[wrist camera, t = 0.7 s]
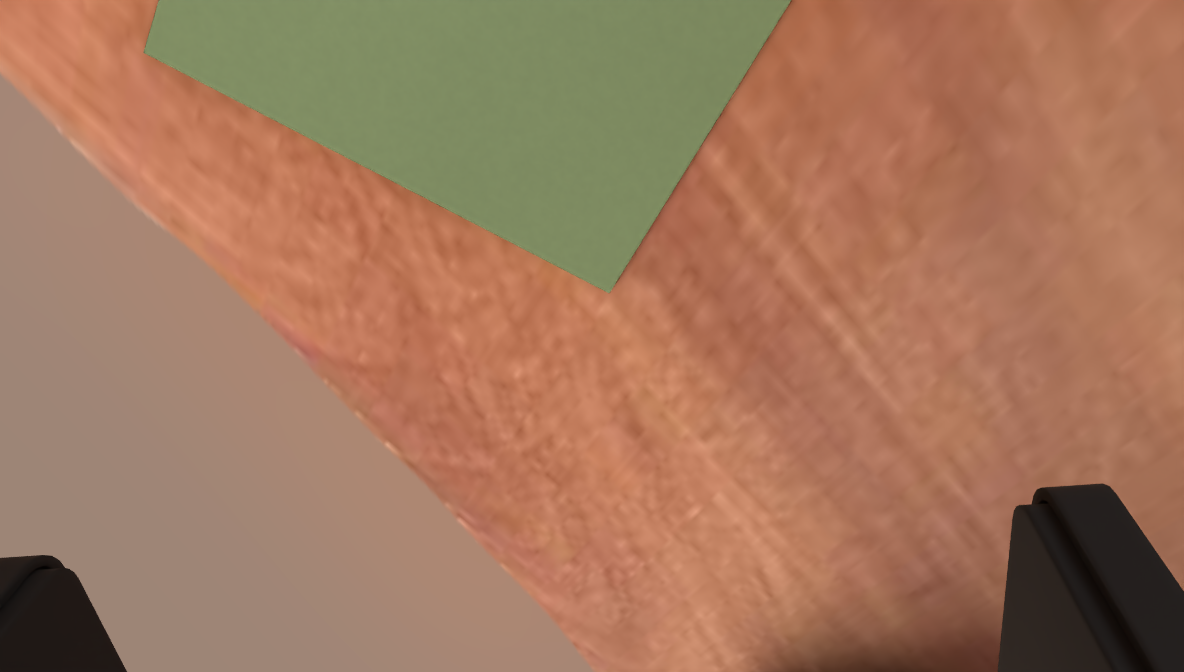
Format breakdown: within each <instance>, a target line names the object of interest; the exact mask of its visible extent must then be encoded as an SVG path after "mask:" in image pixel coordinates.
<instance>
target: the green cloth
mask: <svg viewBox="0 0 1184 672" xmlns="http://www.w3.org/2000/svg"><path fill="white" fill-rule="evenodd" d="M790 1H791V0H159V2H158V5H157V8H156V12H155V15H154V19H153V22H152V25H151V29H150V32H149V36H148V39H147V43H146V46H145V49H144V53H145V54H147V55H149V56H151V57H153V58H155V59H157V60H159V61H161V62H163V63H165V64H167V65H168V66H170V67H172V68H174V69H176V70H178V71H180V72H182V73H184V74H186V75H188V76H190V77H192V78H194V79H196V80H198V81H199V82H201V83H203V84H205V85H207V86H209V87H211V88H213V89H215V90H217V91H219V92H221V93H223V94H225V95H227V96H228V97H230V98H232V99H234V100H236V101H238V102H240V103H242V104H244V105H246V106H248V107H250V108H252V109H254V110H256V111H257V112H259V113H261V114H263V115H265V116H267V117H269V118H271V119H273V120H275V121H277V122H279V123H281V124H283V125H285V126H287V127H288V128H290V129H292V130H294V131H296V132H298V133H300V134H302V135H304V136H306V137H308V138H310V139H312V140H314V141H316V142H317V143H319V144H321V145H323V146H325V147H327V148H329V149H331V150H333V151H335V152H337V153H339V154H341V155H343V156H345V157H347V158H348V159H350V160H352V161H354V162H356V163H358V164H360V165H362V166H364V167H366V168H368V169H370V170H372V171H374V172H376V173H377V174H379V175H381V176H383V177H385V178H387V179H389V180H391V181H393V182H395V183H397V184H399V185H401V186H403V187H405V188H407V189H408V190H410V191H412V192H414V193H416V194H418V195H420V196H422V197H424V198H426V199H428V200H430V201H432V202H434V203H436V204H437V205H439V206H441V207H443V208H445V209H447V210H449V211H451V212H453V213H455V214H457V215H459V216H461V217H463V218H465V219H467V220H468V221H470V222H472V223H474V224H476V225H478V226H480V227H482V228H484V229H486V230H488V231H490V232H492V233H494V234H496V235H497V236H499V237H501V238H503V239H505V240H507V241H509V242H511V243H513V244H515V245H517V246H519V247H521V248H523V249H525V250H527V251H528V252H530V253H532V254H534V255H536V256H538V257H540V258H542V259H544V260H546V261H548V262H550V263H552V264H554V265H556V266H557V267H559V268H561V269H563V270H565V271H567V272H569V273H571V274H573V275H575V276H577V277H579V278H581V279H583V280H585V281H587V282H588V283H590V284H592V285H594V286H596V287H598V288H600V289H602V290H604V291H606V292H608V293H610V292H611V290H612V288H613V287H614V285H615V284H616V282H617V280H618V279H619V277H620V275H621V274H622V272H623V271H624V269H625V267H626V266H627V264H628V263H629V261H630V259H631V258H632V256H633V254H634V253H635V251H636V250H637V248H638V246H639V245H640V243H641V242H642V240H643V238H644V237H645V235H646V234H647V232H648V230H649V229H650V227H651V225H652V224H653V222H654V221H655V219H656V217H657V216H658V214H659V213H660V211H661V209H662V208H663V206H664V205H665V203H666V201H667V200H668V198H669V196H670V195H671V193H672V192H673V190H674V188H675V187H676V185H677V184H678V182H679V180H680V179H681V177H682V176H683V174H684V172H685V171H686V169H687V167H688V166H689V164H690V163H691V161H692V159H693V158H694V156H695V155H696V153H697V151H698V150H699V148H700V147H701V145H702V143H703V142H704V140H705V138H706V137H707V135H708V134H709V132H710V130H711V129H712V127H713V126H714V124H715V122H716V121H717V119H718V118H719V116H720V114H721V113H722V111H723V109H724V108H725V106H726V105H727V103H728V101H729V100H730V98H731V97H732V95H733V93H734V92H735V90H736V88H737V87H738V85H739V84H740V82H741V80H742V79H743V77H744V76H745V74H746V72H747V71H748V69H749V68H750V66H751V64H752V63H753V61H754V59H755V58H756V56H757V55H758V53H759V51H760V50H761V48H762V47H763V45H764V43H765V42H766V40H767V39H768V37H769V35H770V34H771V32H772V30H773V29H774V27H775V26H776V24H777V22H778V21H779V19H780V18H781V16H782V14H783V13H784V11H785V10H786V8H787V6H788V5H789V3H790Z"/></svg>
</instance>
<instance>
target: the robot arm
mask: <svg viewBox="0 0 1184 672" xmlns="http://www.w3.org/2000/svg"><path fill="white" fill-rule="evenodd" d="M0 672H127V671H126V669H125V667H124V665H123V663H122V661H121V659H120V658H119V656H118V654H117V652H116V650H115V648H114V646H113V644H112V642H111V640H110V638H109V636H108V634H107V632H106V630H105V629H104V627H103V625H102V623H101V621H100V619H99V617H98V615H97V613H96V611H95V609H94V607H93V606H92V603H91V602H90V600H89V598H88V596H87V594H86V592H85V590H84V588H83V586H82V584H81V582H80V580H79V578H78V577H77V576H76V574H75V573H74V572H73V571H71V570H70V569H67V568H65V567H64V566H63V564H62V563H61V562H60V561H59V560H58V559H56V558H55V557H53V556H47V555H39V556H24V557H9V558H0ZM998 672H1184V591H1183V590H1182V588H1181V587H1180V585H1179V584H1178V582H1177V581H1176V580H1175V578H1174V577H1173V575H1172V574H1171V572H1170V571H1169V569H1168V568H1167V567H1166V565H1165V564H1164V562H1163V561H1162V559H1161V558H1160V556H1159V555H1158V554H1157V552H1156V551H1155V549H1154V548H1153V546H1152V545H1151V543H1150V542H1149V541H1148V539H1147V538H1146V536H1145V535H1144V533H1143V532H1142V530H1141V529H1140V528H1139V526H1138V525H1137V523H1136V522H1135V520H1134V519H1133V517H1132V516H1131V515H1130V513H1129V512H1128V510H1127V509H1126V507H1125V506H1124V504H1123V503H1122V502H1121V500H1120V499H1119V497H1118V496H1117V494H1116V493H1115V492H1114V491H1113V490H1112V489H1111V488H1110V486H1107V485H1105V484H1090V485H1075V486H1060V487H1045V488H1040V489H1037V490H1036V492H1035V494H1034V496H1033V501H1032V505H1019V506H1016V508H1015V510H1014V514H1013V520H1012V530H1011V540H1010V550H1009V561H1008V571H1007V581H1006V591H1005V602H1004V612H1003V622H1002V633H1001V643H1000V653H999V663H998Z"/></svg>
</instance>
